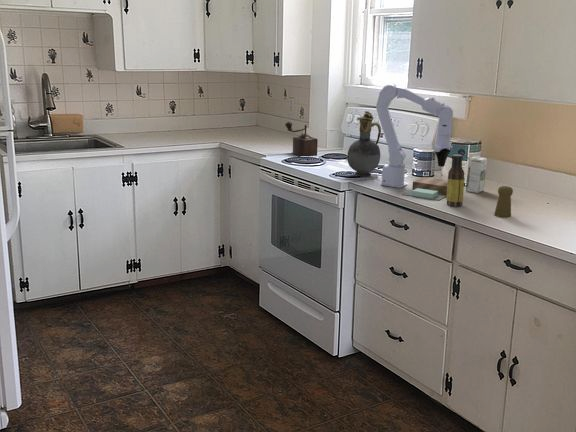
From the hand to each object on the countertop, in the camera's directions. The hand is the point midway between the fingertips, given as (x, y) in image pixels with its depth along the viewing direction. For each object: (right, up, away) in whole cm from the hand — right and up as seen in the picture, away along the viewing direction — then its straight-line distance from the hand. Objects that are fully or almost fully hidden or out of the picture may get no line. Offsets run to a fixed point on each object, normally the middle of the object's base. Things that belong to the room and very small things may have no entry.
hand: (441, 166), depth 275 cm
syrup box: (+14, -11, -1) cm, 18 cm away
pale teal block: (-10, -11, -12) cm, 19 cm away
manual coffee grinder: (-59, +12, +77) cm, 98 cm away
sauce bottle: (-1, -17, -25) cm, 30 cm away
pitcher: (-29, -2, +28) cm, 41 cm away
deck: (-3, -11, -1) cm, 11 cm away
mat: (-9, -13, -10) cm, 19 cm away
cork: (+13, -21, -38) cm, 46 cm away
